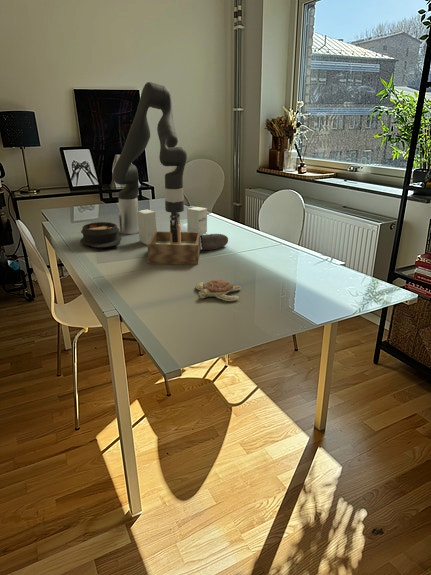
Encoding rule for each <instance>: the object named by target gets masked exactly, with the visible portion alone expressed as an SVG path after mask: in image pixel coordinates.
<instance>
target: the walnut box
mask: <svg viewBox="0 0 431 575" xmlns="http://www.w3.org/2000/svg"><path fill="white" fill-rule="evenodd" d="M200 236H201V234H200V232H187V231H181V244H170V231H158V230H157V231H155V232H154V234H153V236H152V237H151V239H150V241H149V242H148V244H147V245H146V247H147V263H148V264H150V265H153V264H154V265H155V264H156V265H159V264H160V265H199V260H200V254H201V238H200Z"/></svg>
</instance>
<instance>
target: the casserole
mask: <svg viewBox="0 0 431 575" xmlns="http://www.w3.org/2000/svg"><path fill="white" fill-rule="evenodd" d="M118 232H120V227H118V225H117V224H116V223H113V222H109V221H108V222H105V221H104V222H103V221H100V222H99V221H98V222H90V223H87V224H85V225H83V226H82V228H81V231H80V233H81V234H82V238H80V243H81V244H83V245H86V246H91V247H92V248H99V249H100V248H102V249H103V248H110V247H115V246H118V245H120V243H121V241H122V239H123V238H122V237H121V236H120V235H118Z"/></svg>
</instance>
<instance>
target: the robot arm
mask: <svg viewBox="0 0 431 575" xmlns="http://www.w3.org/2000/svg"><path fill="white" fill-rule="evenodd" d="M150 108H153V109H157V110H160V111H161V112H162V116H161V117H160V119H159V121H158V123H157V128H156V130H157V136H158V139H159V143H160V144H159V145H160V146H159V147H160V148H159V149H160V150H159V156H158V158H159V162H160V163H161V164H160V165H163V166H164V167H175V169H173V171H169V172H166V173H165V175H164V207H165V209H164V210H165V211H166V212H167V213H170V215H169V228H170V227H171V233H172V242H178V227H179V224H180V223H181V221H180V219H181V214H180V213H182V212H184V211H185V199H184V198H185V197H184V194H185V193H184V181H183V180H184V177H183V176H184V171H185V167H186V163H187V157H188V155H187V151H186V149H185V148H184V147H182V146H177V145H178V143H179V142H178V136H177V132H176V128H175V124H174V117H173V116H174V115H173V103H172V95H171V92H170V89H169V87H167V86H165V85H162V84H158V83H154V82H152V81H151V82H146V83H145V84H144V85H143V88H142V89H141V93H140V97H139V101H138V105H137V109H136V111H135V116H134V118H133V121H132V122H131V126H130V128H129V131H128V134H127V137H126V140H125V143H124V146H123V148H122V151H121V153H120V156H119V157H118V158H117V161H116V164H114V165H115V166H114V168H113V171H112V178H113V182H115V184H117V185H123V186H124V185H125V186H124V188H123V189H122V190H120V191H119V192H118V194H117V196H118V205H119V206H118V207H119V214H118V220H119V222H118V223H119V233H120V234H125V235H133V234H138V233H139V227H138V216H137V211H139V201H138V200H139V199H138V198H139V197H138V195H139V172H138V168H137V166H136V165H135V164H133V162H134V161H135V160H136V159H137V158H138V157H139V156H141V154H143V152H144V151H145V150H146V148H147V146H148V143H149V142H150V139H151V129H150V125H149V122H148V117H147V115H148V111H149V109H150ZM173 229H176V230H173Z"/></svg>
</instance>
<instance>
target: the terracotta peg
mask: <svg viewBox="0 0 431 575" xmlns="http://www.w3.org/2000/svg"><path fill="white" fill-rule="evenodd" d="M173 230H176V229H173ZM169 232H170V244H181V232H182V230H181V222H180V224H179V227H178V242H172V233H171V227H170V226H169Z"/></svg>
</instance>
